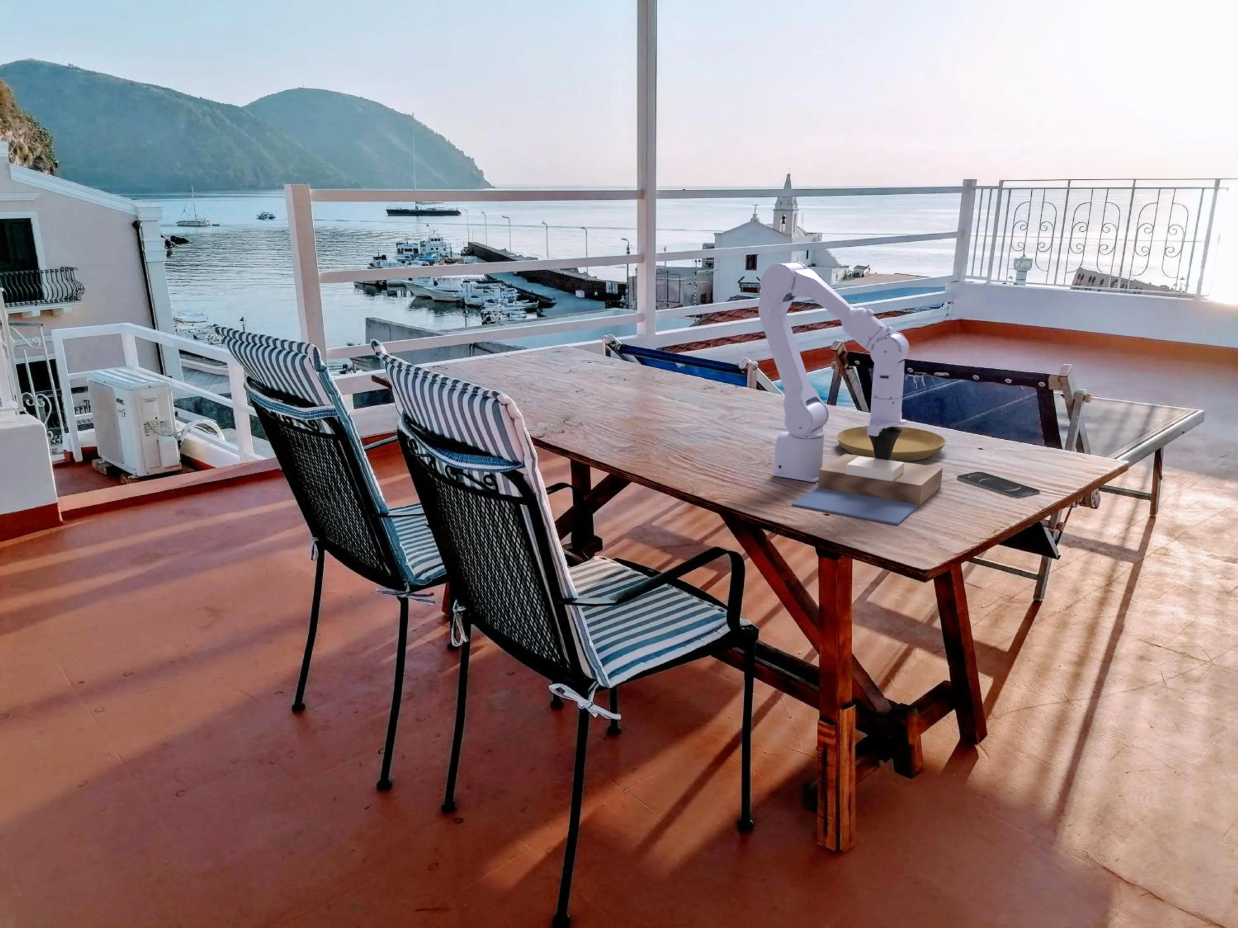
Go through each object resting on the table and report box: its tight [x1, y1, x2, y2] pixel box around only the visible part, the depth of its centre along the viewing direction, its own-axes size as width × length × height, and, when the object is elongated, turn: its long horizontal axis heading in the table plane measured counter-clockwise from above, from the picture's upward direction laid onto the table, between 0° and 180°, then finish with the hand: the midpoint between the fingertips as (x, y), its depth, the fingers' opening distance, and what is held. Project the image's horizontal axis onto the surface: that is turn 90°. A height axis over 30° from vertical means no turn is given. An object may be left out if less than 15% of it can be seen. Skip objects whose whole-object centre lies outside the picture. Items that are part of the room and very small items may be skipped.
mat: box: [791, 486, 920, 526], centre depth 157 cm, size 20×12×1 cm, turn 54°
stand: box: [817, 453, 944, 507], centre depth 167 cm, size 20×14×4 cm
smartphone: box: [956, 471, 1041, 499], centre depth 167 cm, size 8×1×15 cm
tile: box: [846, 456, 905, 481], centre depth 163 cm, size 9×7×2 cm
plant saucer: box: [836, 425, 947, 462], centre depth 195 cm, size 24×24×3 cm
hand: (882, 463), depth 166 cm, fingers closed
